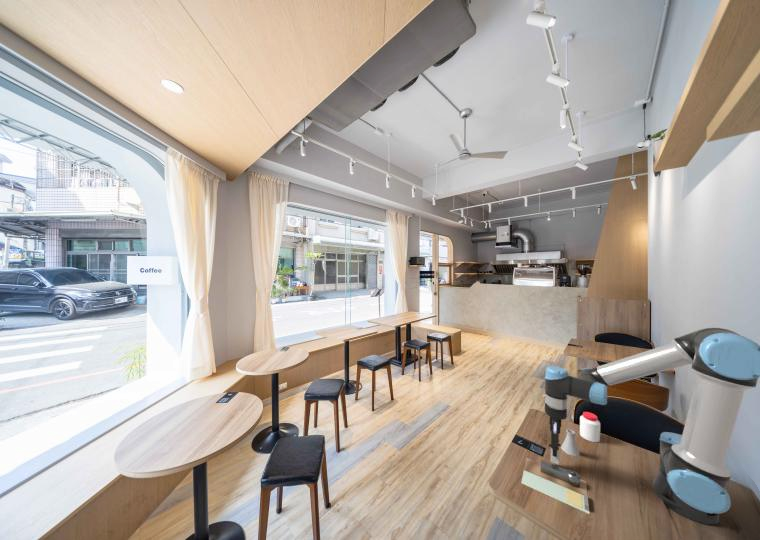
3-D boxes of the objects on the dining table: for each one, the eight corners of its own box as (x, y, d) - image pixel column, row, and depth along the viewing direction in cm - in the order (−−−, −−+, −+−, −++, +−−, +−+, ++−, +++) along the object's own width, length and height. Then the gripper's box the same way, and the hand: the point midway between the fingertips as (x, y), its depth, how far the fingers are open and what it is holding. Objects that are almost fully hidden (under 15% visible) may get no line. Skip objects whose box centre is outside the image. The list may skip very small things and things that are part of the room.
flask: (584, 460, 109) (584, 437, 109) (565, 458, 110) (565, 435, 110) (574, 449, 116) (575, 427, 116) (557, 446, 117) (557, 425, 117)
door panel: (587, 500, 90) (587, 492, 90) (589, 517, 84) (589, 509, 84) (523, 472, 102) (523, 466, 102) (521, 486, 95) (521, 478, 95)
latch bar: (579, 481, 96) (579, 471, 96) (580, 488, 93) (580, 478, 93) (541, 466, 104) (541, 456, 104) (540, 472, 100) (540, 462, 100)
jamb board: (585, 484, 97) (586, 481, 97) (587, 499, 90) (587, 496, 90) (526, 460, 108) (526, 457, 108) (523, 472, 102) (523, 469, 102)
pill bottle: (581, 429, 130) (582, 408, 130) (601, 437, 124) (601, 415, 124) (577, 436, 125) (578, 414, 125) (598, 444, 119) (598, 421, 119)
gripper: (545, 396, 111) (544, 449, 112) (543, 409, 101) (542, 467, 101) (566, 401, 107) (565, 456, 107) (567, 416, 96) (565, 477, 97)
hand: (554, 462), depth 104 cm, fingers closed
